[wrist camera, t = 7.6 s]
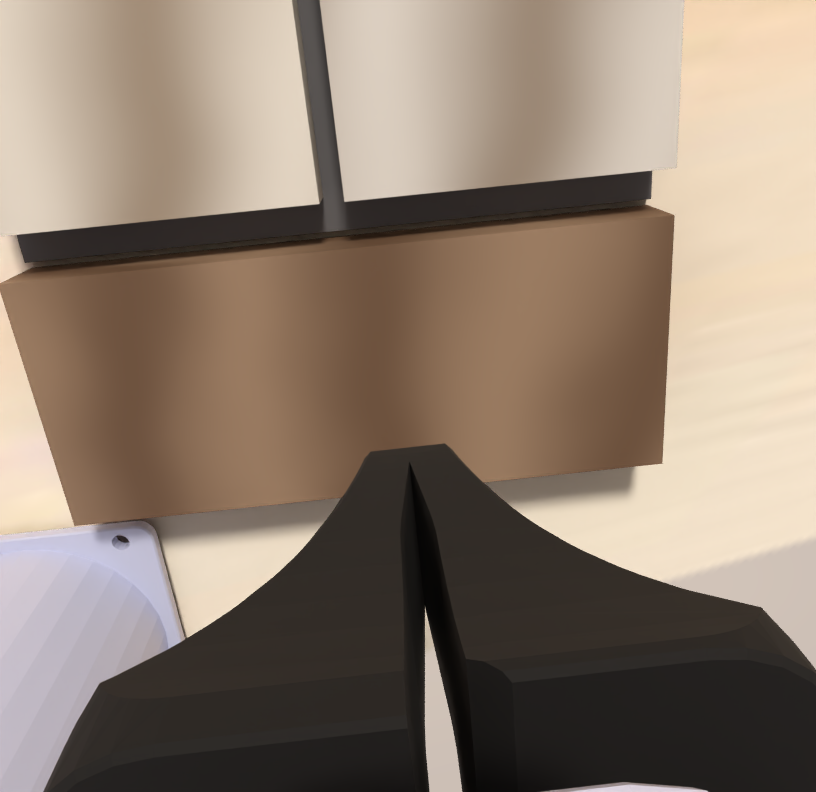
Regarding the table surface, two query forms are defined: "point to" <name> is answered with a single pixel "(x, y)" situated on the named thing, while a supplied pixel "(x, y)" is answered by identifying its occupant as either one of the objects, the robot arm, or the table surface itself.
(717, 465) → the table surface
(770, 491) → the table surface
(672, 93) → the plank
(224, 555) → the table surface
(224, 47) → the plank
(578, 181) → the gray rectangular panel
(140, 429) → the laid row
